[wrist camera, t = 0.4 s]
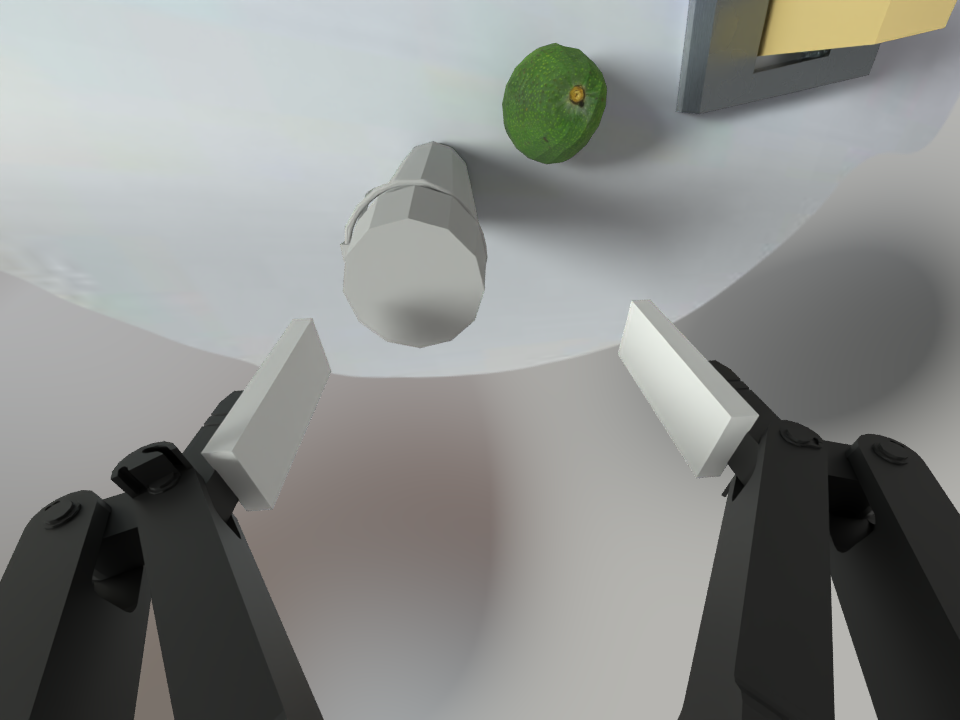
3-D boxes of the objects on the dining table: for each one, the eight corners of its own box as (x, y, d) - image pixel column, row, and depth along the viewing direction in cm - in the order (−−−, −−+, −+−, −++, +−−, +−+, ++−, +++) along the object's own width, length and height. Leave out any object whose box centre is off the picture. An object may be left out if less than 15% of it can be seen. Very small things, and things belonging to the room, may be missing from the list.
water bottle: (471, 136, 34) (499, 203, 14) (470, 221, 39) (491, 358, 19) (374, 134, 34) (264, 201, 14) (385, 220, 38) (315, 362, 19)
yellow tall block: (758, -7, 29) (910, -53, 19) (817, -21, 28) (1001, -76, 19) (744, 57, 31) (874, 44, 22) (799, 44, 31) (955, 25, 21)
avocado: (598, 76, 32) (660, 71, 23) (555, 167, 36) (592, 195, 27) (518, 30, 30) (550, 4, 20) (483, 133, 34) (496, 151, 25)
